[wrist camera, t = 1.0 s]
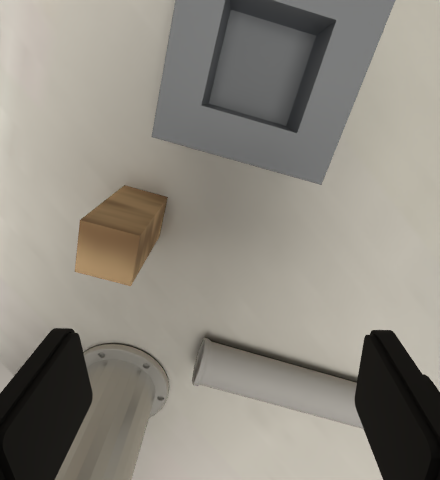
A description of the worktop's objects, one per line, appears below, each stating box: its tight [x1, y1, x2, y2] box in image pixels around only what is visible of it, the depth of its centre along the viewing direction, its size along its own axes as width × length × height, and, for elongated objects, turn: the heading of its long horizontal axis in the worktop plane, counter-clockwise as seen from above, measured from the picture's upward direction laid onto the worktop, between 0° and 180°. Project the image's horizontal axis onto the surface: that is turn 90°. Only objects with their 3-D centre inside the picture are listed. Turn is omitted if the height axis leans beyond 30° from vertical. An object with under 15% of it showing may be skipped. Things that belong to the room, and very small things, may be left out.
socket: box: [152, 0, 395, 185], centre depth 25 cm, size 13×13×7 cm
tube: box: [192, 338, 364, 429], centre depth 40 cm, size 5×5×25 cm
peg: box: [75, 185, 168, 286], centre depth 29 cm, size 4×4×10 cm
